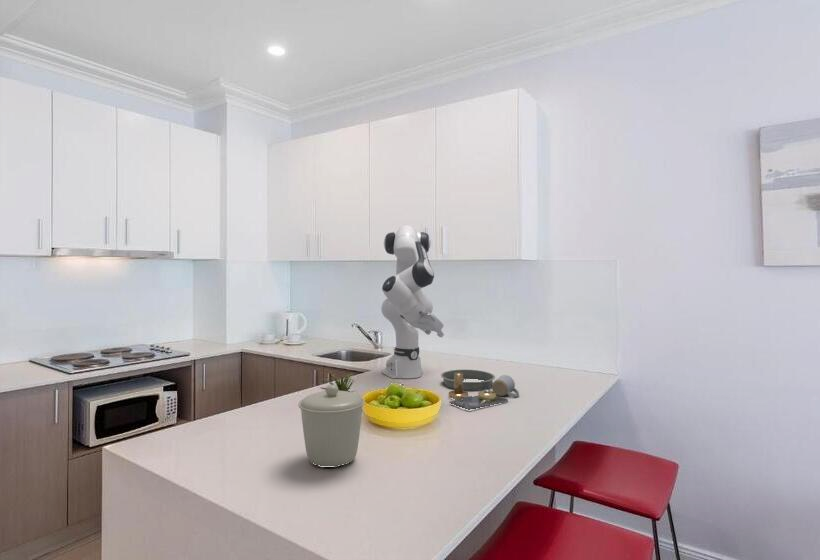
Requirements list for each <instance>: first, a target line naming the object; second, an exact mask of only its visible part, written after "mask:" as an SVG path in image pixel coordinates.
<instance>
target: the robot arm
mask: <svg viewBox="0 0 820 560" xmlns="http://www.w3.org/2000/svg"><path fill="white" fill-rule="evenodd" d="M431 244H432V242H431V239H430V235H429V234H428V233H427V232H423V231H420V232H419V231H417V230H416V229H415V228H414V227H413V226H412V225H407V224H406V225H402V226H401V227H399V228H398V229H397V231H396V232H395V231H392V232H388V233H387V234H386V235H385V237H384V240H383V248H384V250H385V252H386V253H387V254H389V255H394V256H395V258H396V270H395V271H396V272H395V273H396V275H392V276H390V277H388V278H386V280H385V281H384V282H383V284H382V288H381V290H382V292H383V293H384V296H385V297H386V299H384V300H383V302H382V304H381V308H380V311H381V313H382V316H384V318H385V319H386V320H388V321H389V322H390V323H391V324H392V327H393V329H394V332H395V347H394V348H393V351H394V352H393V354H392V356H391V357H389V358H388V359H387V360H386V363H385V364H386V366H385V368H384V369H382V370H381V373H382V374H383V375H385V376H387V377H389V378H392V379H404V380H405V379H417V378H420V377H422V375H423V373H424V372H423V370H422V363H421V360H422V359H421V357H420V356H419V355H420V346H419V331H418V330H419V329H420V330H421V331H423V332H424V333H425V334H426V335H430V334H431V333H432V332H435V333H436V336H438V337H439V338H443V337H444V336H445V334H444V332H443V331H442V329H444V323H443V322H442V321H441V320H440V319H439V318H438V317H437V316H436V315H435V314H433V313H432V312H433V303H432V301H431V299H429V298H428V297H427V296H426V295H425V294H424V293H423V291H422V289H423V288H426V287H428V286H430V285H432V283H433V282H434V278H435V272H434V271H433V268H432V266H431V264H430V260H429V256H428V252H429V251H430V248H431ZM417 329H418V330H417Z"/></svg>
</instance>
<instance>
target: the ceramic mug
mask: <svg viewBox="0 0 820 560" xmlns="http://www.w3.org/2000/svg"><path fill="white" fill-rule="evenodd" d="M491 389H492V390H491V391H494V392H496V396H498V397H505V396H507V395H508V396H509V397H511V398H515V397H516V398H518V397H519V395H520V392H519V390H518V389H517V388H516V383H515V381H514V378H512V377H511V376H510V375H509V374H503V375H500V376H499V377H498V378H495V379H494V380H493V381H492V385H491ZM513 392H514V393H513Z"/></svg>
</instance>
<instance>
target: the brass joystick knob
mask: <svg viewBox="0 0 820 560" xmlns="http://www.w3.org/2000/svg"><path fill="white" fill-rule="evenodd" d="M463 396H469V392H468V391H467V390H463V373H454V389H453V390H450V391H449V392H448V398H449V397H450V398H453V399H456V398H458V397H461V399H463Z"/></svg>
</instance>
